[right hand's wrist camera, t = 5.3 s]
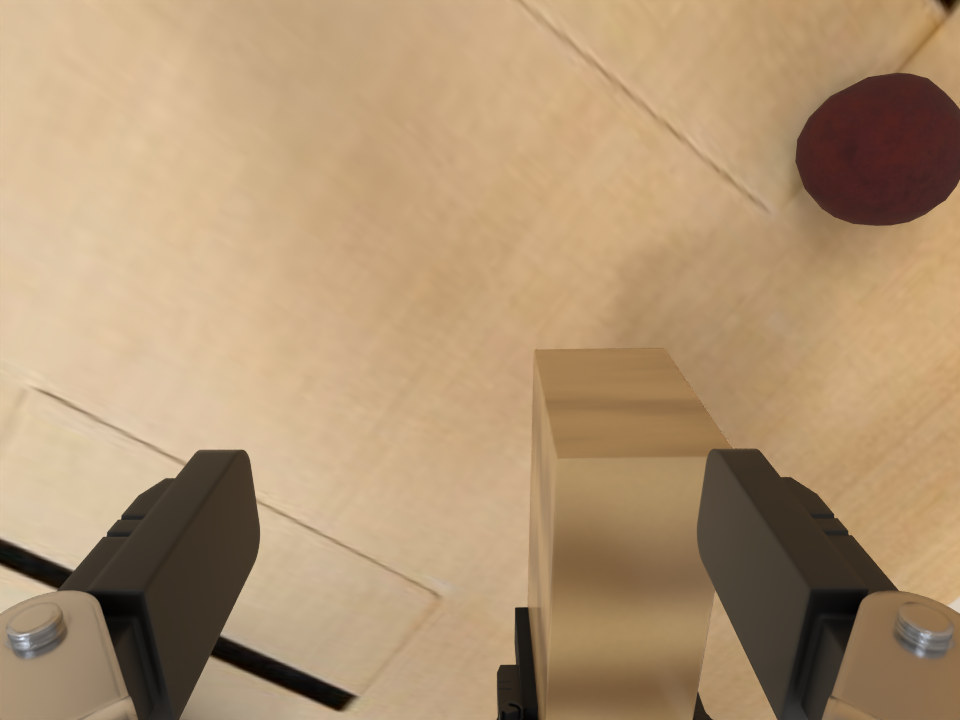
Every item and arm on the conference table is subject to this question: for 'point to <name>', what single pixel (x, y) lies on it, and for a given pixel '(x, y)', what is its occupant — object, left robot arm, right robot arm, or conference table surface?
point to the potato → (882, 150)
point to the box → (617, 535)
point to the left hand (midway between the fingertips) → (581, 624)
